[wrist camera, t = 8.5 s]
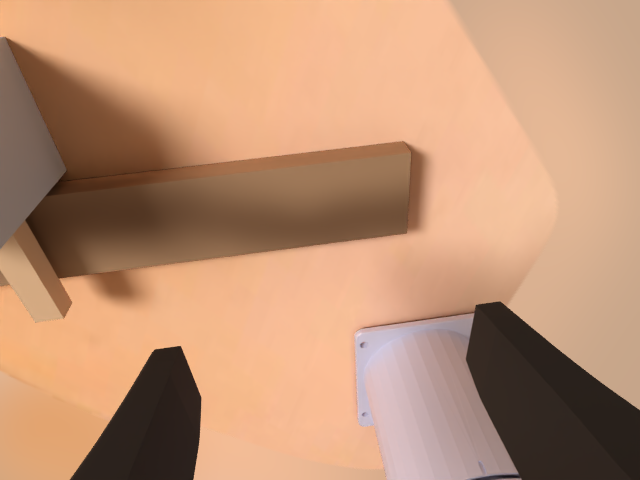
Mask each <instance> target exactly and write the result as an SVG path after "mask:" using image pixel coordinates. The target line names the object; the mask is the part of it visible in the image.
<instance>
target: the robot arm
mask: <svg viewBox="0 0 640 480" xmlns="http://www.w3.org/2000/svg"><path fill="white" fill-rule="evenodd" d="M354 339H355V364H356V388H357V413H358V423H359V425H361V426H372V425H374V428H375V432H376V436H377V440H378V445H379V449H380V453H381V457H382V462H383V466H384V470H385V474H386V479H387V480H640V410H639V409H637V408H636V407H634V406H633V405H631V404H630V403H629V402H627V401H626V400H625V399H623V398H622V397H620V396H619V395H617V394H616V393H614V392H613V391H612V390H610V389H609V388H608V387H606V386H605V385H604V384H602V383H601V382H600V381H598V380H597V379H596V378H594V377H593V376H592V375H590V374H589V373H588V372H586V371H585V370H584V369H582V368H581V367H580V366H579V365H577V364H576V363H575V362H573V361H572V360H571V359H570V358H568V357H567V356H566V355H565V354H563V353H562V352H561V351H560V350H558V349H557V348H556V347H555V346H553V345H552V344H551V343H549V342H548V341H547V340H546V339H545V338H543V337H542V336H541V335H540V334H539V333H537V332H536V331H535V330H534V329H533V328H531V327H530V326H529V325H528V324H527V323H525V322H524V321H523V320H522V319H521V318H519V317H518V316H517V315H516V314H514V313H513V312H512V311H511V310H510V309H509V308H507V307H506V306H505V305H504V304H503V303H501V302H493V303H486V304H479V305H476V308H475V313H471V314H464V315H457V316H450V317H443V318H435V319H428V320H421V321H414V322H407V323H400V324H393V325H386V326H378V327H371V328H364V329H360V330H358V331H357V332H356V333H355V335H354ZM363 342H364V343H363ZM200 420H201V396H200V393H199V391H198V388H197V386H196V383H195V381H194V378H193V375H192V373H191V370H190V368H189V365H188V363H187V360H186V358H185V355H184V353H183V350H182V348H181V346H177V347H170V348H163V349H156V350H154V351H153V352H152V354H151V355H150V357H149V359H148V360H147V362H146V364H145V365H144V367H143V369H142V371H141V372H140V374H139V376H138V377H137V379H136V381H135V382H134V384H133V386H132V387H131V389H130V390H129V392H128V394H127V395H126V397H125V399H124V400H123V402H122V403H121V405H120V407H119V408H118V410H117V411H116V413H115V414H114V416H113V417H112V419H111V421H110V422H109V424H108V425H107V427H106V428H105V430H104V431H103V433H102V434H101V436H100V437H99V439H98V441H97V442H96V443H95V445H94V446H93V448H92V449H91V451H90V452H89V454H88V455H87V456H86V458H85V459H84V461H83V462H82V464H81V465H80V466H79V468H78V469H77V471H76V472H75V473H74V475H73V476H72V478H71V479H70V480H193V478H194V472H195V465H196V459H197V453H198V446H199V438H200Z"/></svg>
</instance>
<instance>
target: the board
mask: <svg viewBox="0 0 640 480" xmlns="http://www.w3.org/2000/svg"><path fill="white" fill-rule="evenodd" d="M410 168H411V152H410V150H409V149H408V147H407V146H406V145H405V143H404V142H403V141H402V142H394V143H385V144H377V145H369V146H360V147H352V148H343V149H335V150H326V151H318V152H309V153H301V154H292V155H284V156H275V157H267V158H258V159H250V160H242V161H233V162H225V163H216V164H208V165H199V166H191V167H182V168H174V169H165V170H157V171H148V172H140V173H131V174H123V175H115V176H106V177H98V178H89V179H81V180H72V181H64V182H57V183H56V184H55V185H54V186H53V187H52V189H51V190H50V191H49V192H48V193H47V195H46V196H45V197H44V198H43V199H42V200H41V202H40V203H39V204H38V205H37V206H36V208H35V209H34V210H33V211H32V212H31V214H30V215H29V216H28V217H27V218H26V219H25V221H26V223H27V224H28V226H29V228H30V229H31V231H32V233H33V235H34V236H35V238H36V240H37V242H38V243H39V245H40V247H41V249H42V250H43V252H44V254H45V256H46V257H47V259H48V261H49V263H50V264H51V266H52V268H53V270H54V271H55V273H56V275H57V277H58V278H66V277H73V276H81V275H89V274H97V273H104V272H112V271H120V270H127V269H135V268H143V267H151V266H158V265H166V264H174V263H182V262H189V261H197V260H205V259H212V258H220V257H228V256H236V255H243V254H251V253H259V252H267V251H274V250H282V249H290V248H297V247H305V246H313V245H321V244H328V243H336V242H344V241H352V240H359V239H367V238H375V237H382V236H390V235H398V234H406V233H407V224H408V205H409V187H410ZM4 285H10V284H9V282H8V281H7V279H6V278H5V276H4V275H3V273H2V272H1V270H0V286H4Z"/></svg>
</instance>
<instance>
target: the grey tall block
mask: <svg viewBox="0 0 640 480" xmlns="http://www.w3.org/2000/svg"><path fill="white" fill-rule="evenodd" d="M66 171H67V169H66V167H65V165H64V163H63V161H62V158H61V156H60V154H59V152H58V150H57V148H56V145H55V143H54V141H53V139H52V137H51V135H50V133H49V130H48V128H47V126H46V124H45V122H44V120H43V118H42V115H41V113H40V111H39V109H38V107H37V105H36V102H35V100H34V98H33V96H32V94H31V92H30V90H29V87H28V85H27V83H26V81H25V79H24V77H23V75H22V72H21V70H20V68H19V66H18V64H17V62H16V59H15V57H14V55H13V53H12V51H11V49H10V47H9V44H8V42H7V40H6V38H5V37H0V270H1V272H2V273H3V275H4V276H5V278H6V279H7V281H8V282H9V284H10V285H11V287H12V288H13V290H14V291H15V293H16V294H17V296H18V297H19V299H20V300H21V302H22V303H23V305H24V306H25V308H26V309H27V311H28V312H29V314H30V315H31V317H32V318H33V320H34V321H35V323H36V322H43V321H51V320H58V319H64V318H65V316H66V314H67V312H68V310H69V308H70V306H71V304H72V301H71V299H70V298H69V296H68V294H67V292H66V291H65V289H64V287H63V285H62V284H61V282H60V280H59V278H58V277H57V275H56V273H55V271H54V270H53V268H52V266H51V264H50V263H49V261H48V259H47V257H46V256H45V254H44V252H43V250H42V249H41V247H40V245H39V243H38V242H37V240H36V238H35V236H34V235H33V233H32V231H31V229H30V228H29V226H28V224H27V223H26V221H25V219H26V218H27V217H28V216H29V215H30V214H31V212H32V211H33V210H34V209H35V208H36V206H37V205H38V204H39V203H40V202H41V200H42V199H43V198H44V197H45V196H46V195H47V193H48V192H49V191H50V190H51V189H52V187H53V186H54V185H55V184H56V183H57V182H58V180H59V179H60V178H61V177H62V176H63V174H64V173H65V172H66Z"/></svg>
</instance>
